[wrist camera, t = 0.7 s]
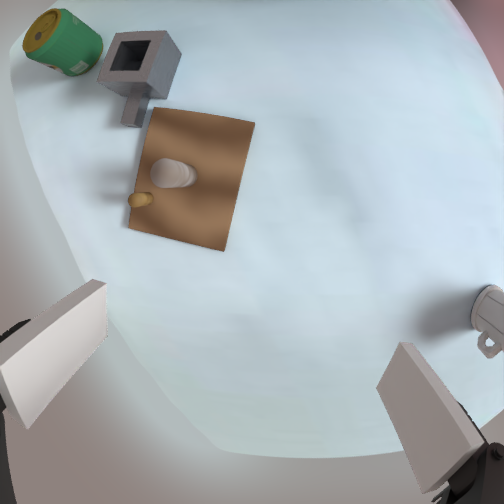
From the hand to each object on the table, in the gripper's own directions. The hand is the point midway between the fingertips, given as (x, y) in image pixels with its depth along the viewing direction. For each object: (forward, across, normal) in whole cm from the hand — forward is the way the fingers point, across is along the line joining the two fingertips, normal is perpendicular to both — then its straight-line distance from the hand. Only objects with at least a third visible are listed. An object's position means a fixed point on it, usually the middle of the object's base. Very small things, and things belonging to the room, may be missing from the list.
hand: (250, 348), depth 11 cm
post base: (+24, -10, +6) cm, 27 cm away
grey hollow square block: (+24, -19, +17) cm, 35 cm away
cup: (+25, +43, -4) cm, 49 cm away
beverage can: (+25, -32, +23) cm, 47 cm away
